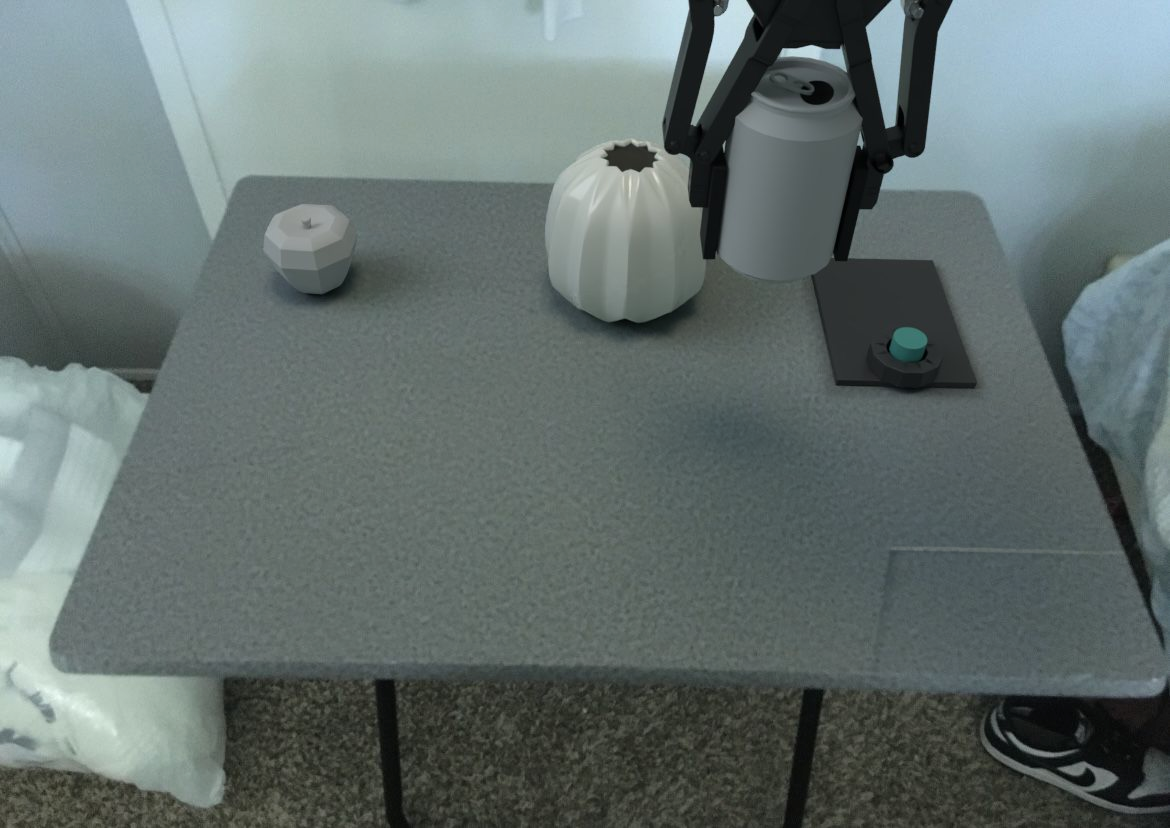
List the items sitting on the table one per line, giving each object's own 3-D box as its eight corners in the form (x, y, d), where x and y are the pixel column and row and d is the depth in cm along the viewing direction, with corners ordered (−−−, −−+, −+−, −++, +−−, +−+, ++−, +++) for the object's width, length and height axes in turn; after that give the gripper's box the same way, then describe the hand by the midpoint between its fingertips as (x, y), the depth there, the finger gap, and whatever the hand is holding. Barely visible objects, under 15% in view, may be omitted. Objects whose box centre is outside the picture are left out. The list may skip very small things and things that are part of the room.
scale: (977, 394, 81) (985, 374, 79) (837, 391, 81) (842, 371, 79) (931, 265, 93) (937, 245, 91) (808, 262, 93) (812, 242, 91)
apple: (268, 262, 92) (252, 199, 87) (357, 247, 93) (346, 184, 89) (278, 318, 86) (261, 254, 82) (372, 300, 88) (361, 237, 83)
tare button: (926, 364, 80) (930, 349, 79) (892, 363, 80) (897, 348, 79) (919, 341, 82) (923, 327, 81) (886, 341, 82) (890, 326, 81)
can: (820, 302, 62) (860, 122, 54) (699, 278, 64) (719, 99, 55) (838, 233, 67) (877, 59, 59) (725, 212, 69) (747, 39, 60)
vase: (549, 243, 94) (547, 108, 85) (701, 247, 94) (716, 113, 84) (539, 342, 84) (535, 203, 75) (709, 347, 84) (727, 208, 75)
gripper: (1031, -170, 52) (920, 215, 68) (623, -176, 51) (610, 211, 68) (1082, -118, 46) (948, 286, 62) (627, -125, 46) (611, 282, 62)
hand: (772, 247), depth 65 cm, fingers closed on can, 7 cm apart
